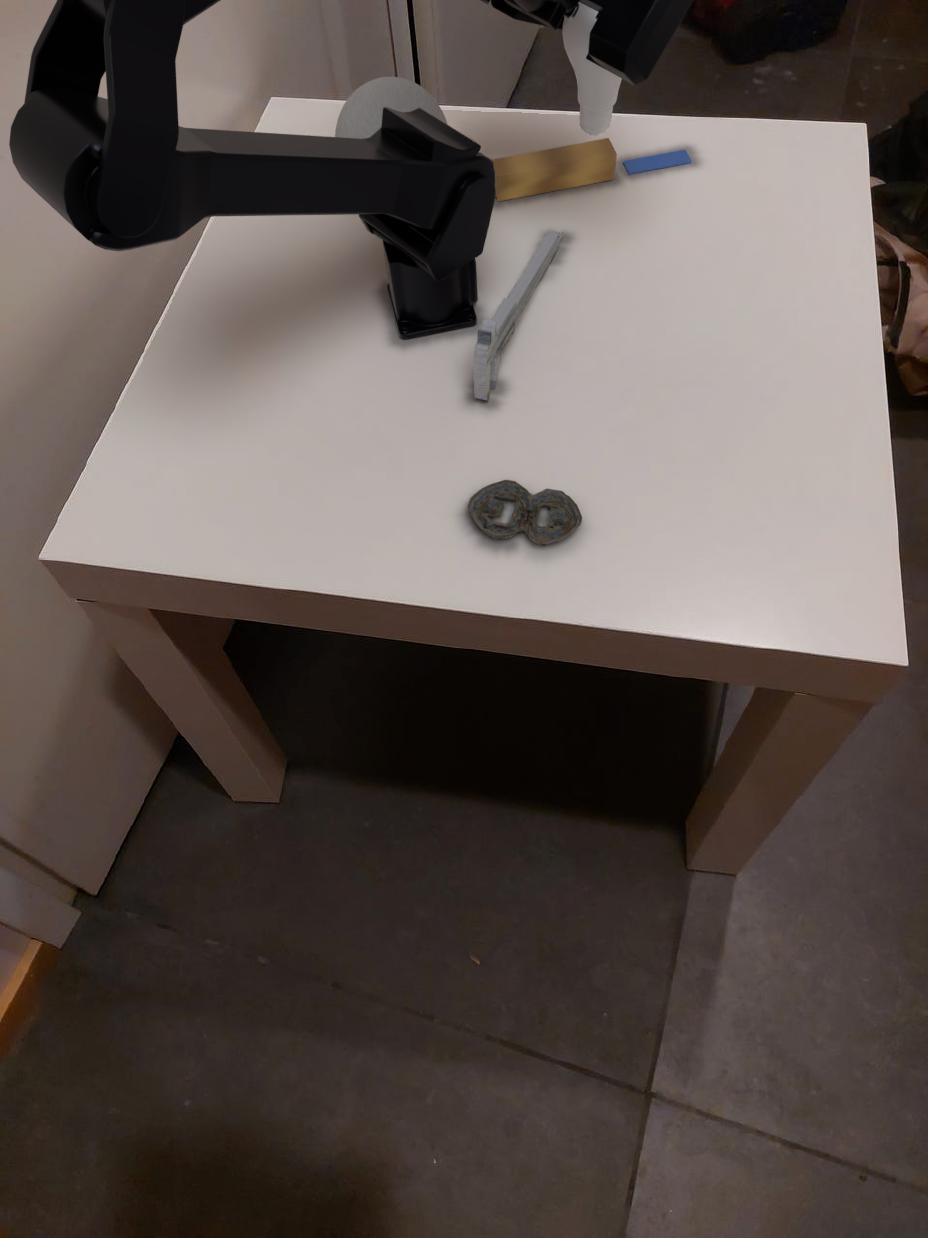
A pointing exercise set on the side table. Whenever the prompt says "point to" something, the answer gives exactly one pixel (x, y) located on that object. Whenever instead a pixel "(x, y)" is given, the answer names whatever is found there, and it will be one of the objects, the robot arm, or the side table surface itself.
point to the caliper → (508, 318)
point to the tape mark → (657, 161)
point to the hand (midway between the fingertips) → (614, 41)
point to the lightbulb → (589, 74)
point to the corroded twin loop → (524, 512)
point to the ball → (382, 105)
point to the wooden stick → (554, 169)
